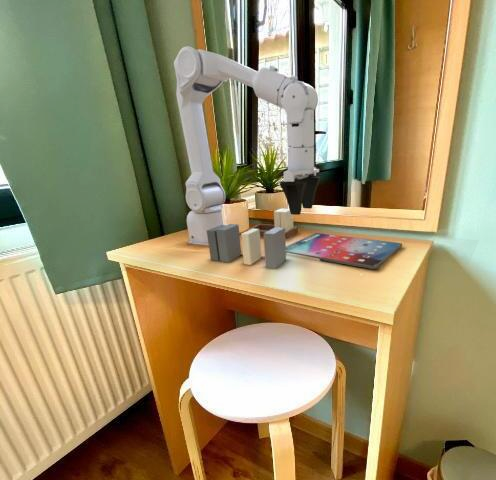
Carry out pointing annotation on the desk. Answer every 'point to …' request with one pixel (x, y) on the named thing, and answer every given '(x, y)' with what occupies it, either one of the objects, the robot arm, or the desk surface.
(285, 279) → the desk surface
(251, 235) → the white book
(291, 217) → the white books
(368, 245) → the tablet
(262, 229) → the book tray
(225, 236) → the grey books
